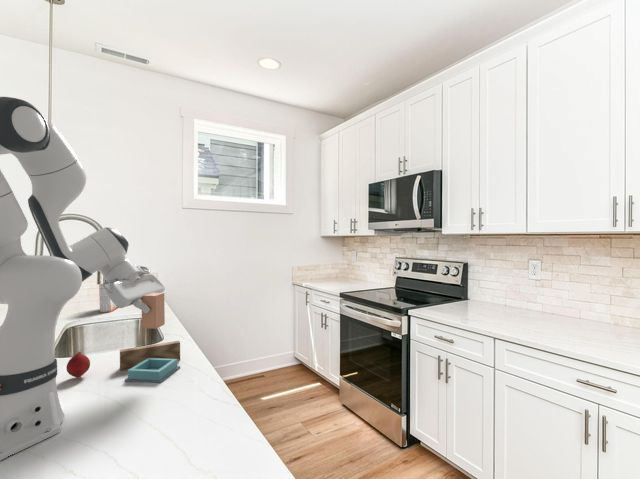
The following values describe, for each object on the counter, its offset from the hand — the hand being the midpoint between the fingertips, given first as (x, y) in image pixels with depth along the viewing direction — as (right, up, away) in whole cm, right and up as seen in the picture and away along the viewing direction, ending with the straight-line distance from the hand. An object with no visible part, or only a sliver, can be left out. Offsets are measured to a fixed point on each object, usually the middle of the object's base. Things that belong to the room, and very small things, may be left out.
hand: (155, 309), depth 104 cm
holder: (-1, -20, 0) cm, 20 cm away
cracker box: (-70, -19, +89) cm, 115 cm away
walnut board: (-6, -20, +9) cm, 23 cm away
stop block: (-1, -5, 0) cm, 5 cm away
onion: (-22, -21, -2) cm, 30 cm away
